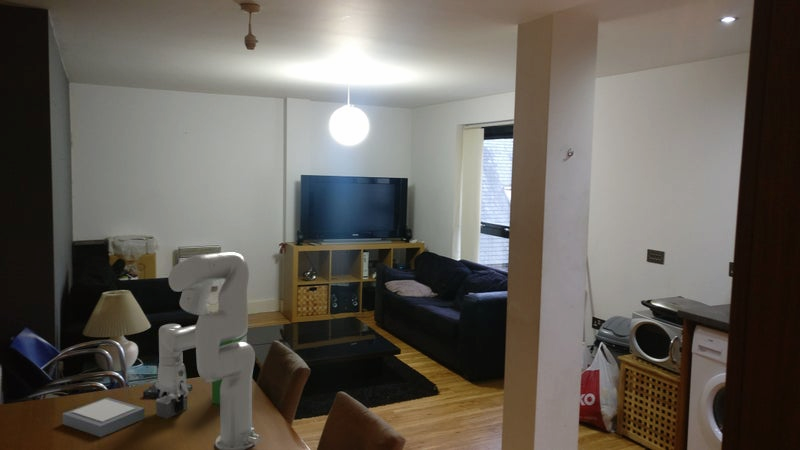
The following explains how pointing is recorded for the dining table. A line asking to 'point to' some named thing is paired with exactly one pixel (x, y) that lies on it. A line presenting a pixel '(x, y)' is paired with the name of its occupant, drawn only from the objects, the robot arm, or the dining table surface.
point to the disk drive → (154, 393)
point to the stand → (103, 416)
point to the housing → (168, 405)
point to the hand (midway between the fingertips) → (172, 409)
